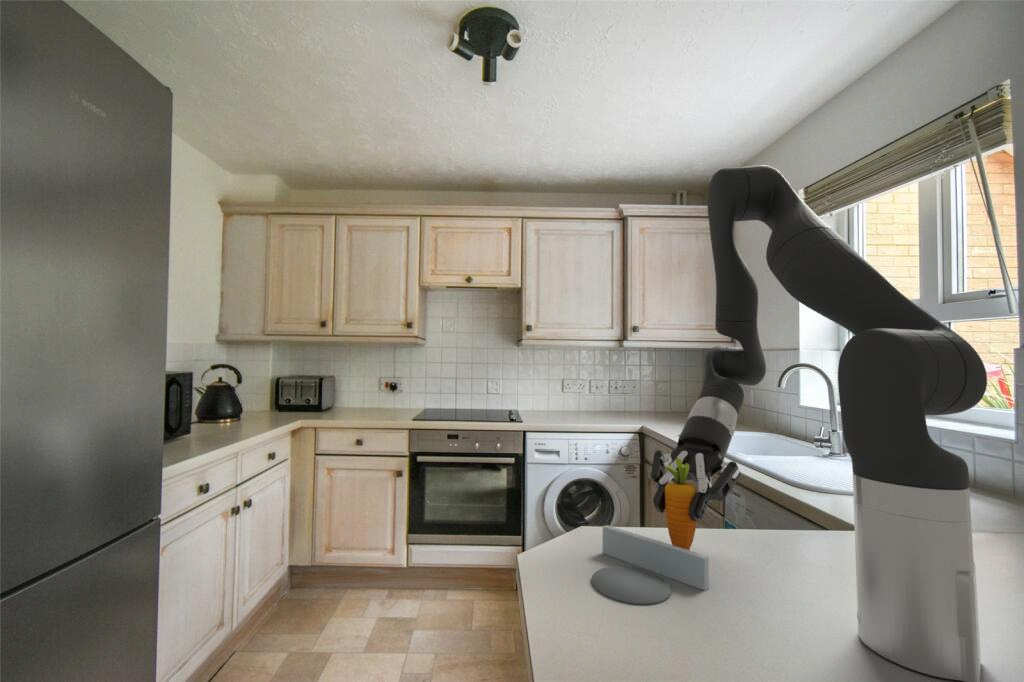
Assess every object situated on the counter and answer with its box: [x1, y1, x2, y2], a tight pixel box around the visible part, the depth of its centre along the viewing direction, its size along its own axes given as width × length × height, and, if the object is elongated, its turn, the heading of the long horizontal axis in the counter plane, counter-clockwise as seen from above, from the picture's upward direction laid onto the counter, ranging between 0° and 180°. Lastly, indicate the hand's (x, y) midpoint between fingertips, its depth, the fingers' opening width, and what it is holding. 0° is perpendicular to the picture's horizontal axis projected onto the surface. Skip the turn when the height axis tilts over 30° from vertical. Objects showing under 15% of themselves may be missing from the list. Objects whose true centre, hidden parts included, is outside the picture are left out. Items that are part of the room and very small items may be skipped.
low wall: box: [602, 524, 710, 591], centre depth 64 cm, size 16×1×4 cm, turn 43°
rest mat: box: [591, 566, 672, 606], centre depth 58 cm, size 10×10×1 cm
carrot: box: [664, 458, 698, 551], centre depth 69 cm, size 5×5×15 cm
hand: (675, 513), depth 67 cm, fingers closed on carrot, 5 cm apart
